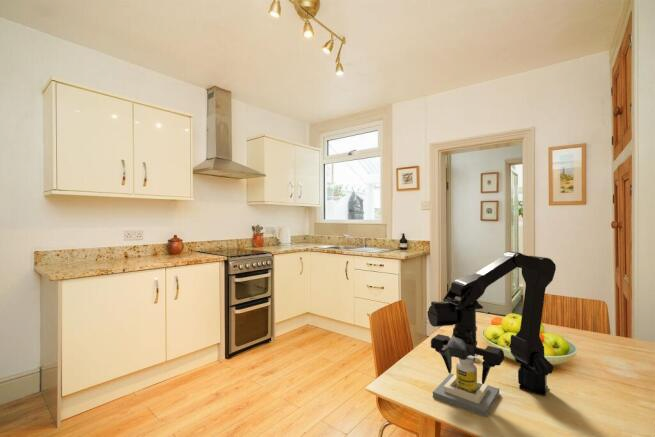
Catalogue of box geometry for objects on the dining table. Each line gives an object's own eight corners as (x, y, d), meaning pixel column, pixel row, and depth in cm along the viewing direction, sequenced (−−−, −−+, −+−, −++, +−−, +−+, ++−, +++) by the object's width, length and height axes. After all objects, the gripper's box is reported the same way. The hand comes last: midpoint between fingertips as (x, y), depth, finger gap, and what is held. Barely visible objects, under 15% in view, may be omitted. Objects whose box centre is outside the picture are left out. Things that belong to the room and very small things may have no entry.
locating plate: (499, 393, 89) (499, 383, 89) (486, 417, 79) (485, 405, 79) (450, 378, 98) (450, 368, 98) (432, 397, 88) (432, 386, 88)
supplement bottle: (455, 392, 87) (455, 358, 87) (457, 383, 92) (456, 351, 92) (476, 397, 85) (476, 362, 85) (477, 388, 90) (476, 354, 90)
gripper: (422, 324, 89) (423, 378, 89) (493, 340, 76) (494, 403, 76) (437, 315, 97) (438, 364, 97) (503, 328, 85) (505, 384, 85)
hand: (466, 378), depth 89 cm, fingers open, 9 cm apart
